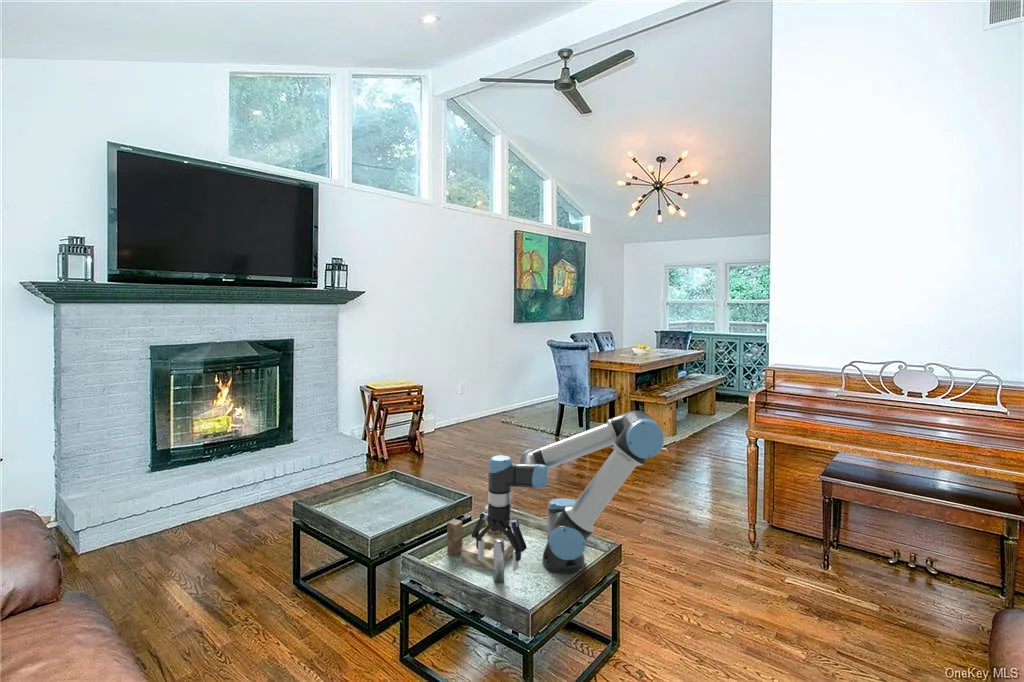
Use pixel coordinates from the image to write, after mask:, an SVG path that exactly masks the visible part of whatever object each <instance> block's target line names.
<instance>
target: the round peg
mask: <svg viewBox="0 0 1024 682" xmlns="http://www.w3.org/2000/svg"><path fill="white" fill-rule="evenodd" d="M504 540H505V538H504V539H501V538H497V539H495V540H494V570H493V578H492V579H493V582H494V583H495V584H503V583H504V582H505V561H504Z"/></svg>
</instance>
